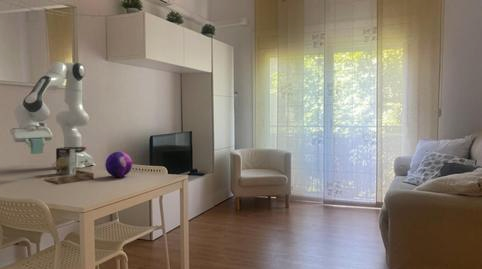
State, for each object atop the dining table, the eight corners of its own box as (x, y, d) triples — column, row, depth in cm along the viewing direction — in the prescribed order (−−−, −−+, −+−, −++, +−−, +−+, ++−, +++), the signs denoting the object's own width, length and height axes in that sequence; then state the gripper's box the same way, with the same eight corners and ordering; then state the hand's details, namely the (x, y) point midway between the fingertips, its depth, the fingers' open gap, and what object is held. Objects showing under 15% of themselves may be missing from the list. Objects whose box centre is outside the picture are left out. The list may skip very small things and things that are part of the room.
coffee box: (55, 174, 222) (55, 148, 221) (61, 172, 228) (61, 147, 227) (70, 174, 221) (69, 148, 220) (75, 173, 227) (75, 147, 226)
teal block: (40, 152, 209) (39, 138, 208) (43, 153, 206) (42, 139, 206) (30, 153, 205) (30, 139, 205) (33, 154, 203) (33, 139, 202)
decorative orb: (121, 173, 226) (121, 149, 225) (137, 176, 217) (137, 151, 216) (100, 177, 213) (99, 152, 212) (116, 180, 205) (115, 153, 204)
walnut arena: (78, 175, 218) (78, 169, 218) (93, 179, 208) (93, 173, 207) (44, 180, 203) (44, 174, 203) (59, 184, 192) (59, 177, 192)
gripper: (10, 124, 201) (18, 143, 195) (48, 123, 217) (57, 140, 211) (7, 132, 204) (15, 150, 198) (45, 130, 220) (53, 148, 214)
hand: (37, 145), depth 205 cm, fingers closed on teal block, 5 cm apart
